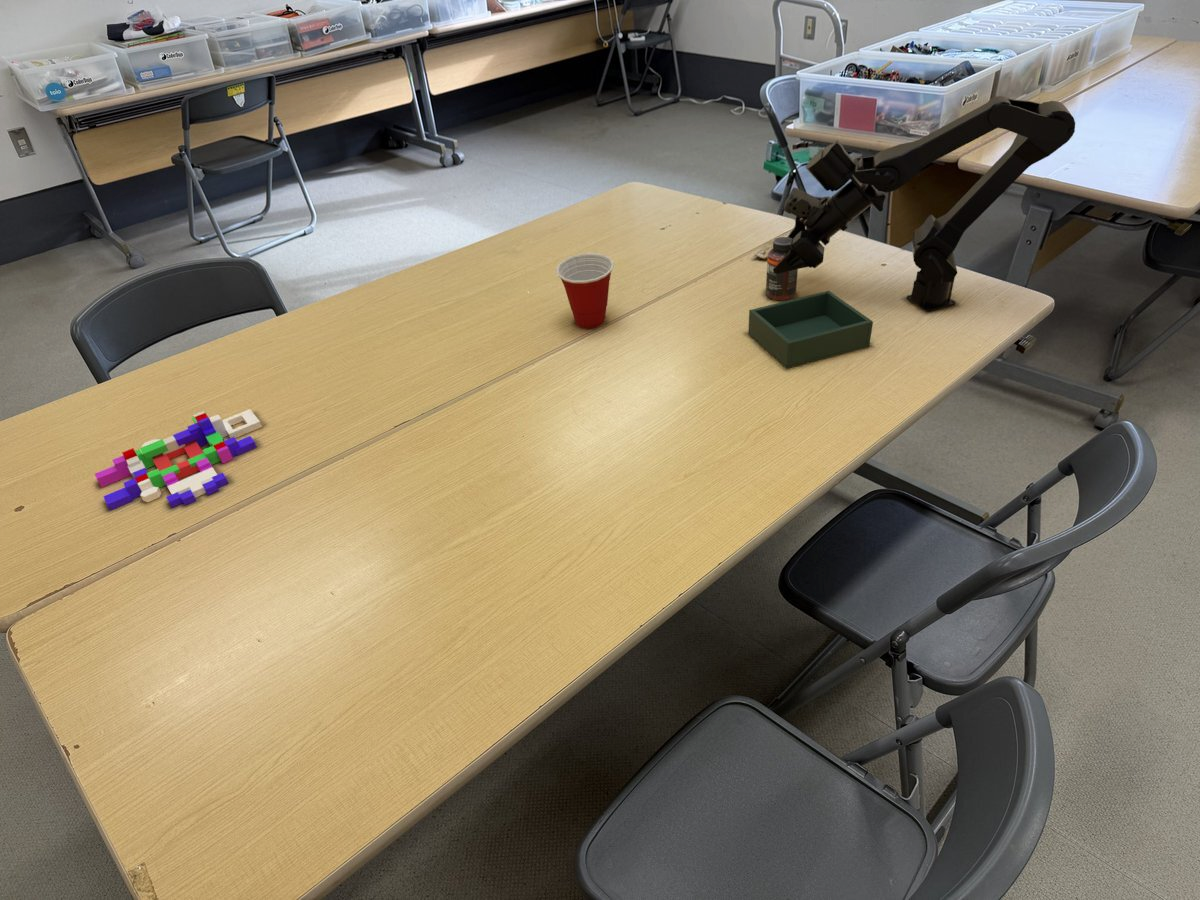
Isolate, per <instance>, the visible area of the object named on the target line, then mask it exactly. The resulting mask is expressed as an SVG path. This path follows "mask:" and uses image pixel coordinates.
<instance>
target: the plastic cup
mask: <svg viewBox="0 0 1200 900" xmlns="http://www.w3.org/2000/svg"><path fill="white" fill-rule="evenodd" d="M614 265H615V264H614V262H613V259H612V258H610V257H609V256H607V255H605V254H602V253H597V252H584V253H579V254H574V255H572V256H569V257H566V258H564V259H563V260H562V261H560V263H558V264H557V267H556V269H555V271H556V274H557V277H558V278H560V280H561V282H562V284H563V287H564V289H565V293H566V294H565V295H566V296H567V300H568V303H569V307H570V309H571V312H572V317H573V318H574V322H575V323H576V326H578V327H579V328H582V329H588V330H590V329H597V328H599V327H601V326H603V324H605V322H606V317H607V307H608V302H609V301H608V300H609V289H610V281H611V276H612V272H613V269H614Z"/></svg>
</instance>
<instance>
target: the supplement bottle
mask: <svg viewBox="0 0 1200 900" xmlns="http://www.w3.org/2000/svg"><path fill="white" fill-rule="evenodd" d="M791 240H792V238H789V237H787V236H780V237H776V238H775V239H773V240H772V241H773V249H771V250H770V251H769V253H768V257H767V258H766V259H767V260H766V277H765V278H766V279H765V295H766V296H767V297H768V298H769V299H772V300H775V301H788V300H791V299H792V298H794V297H795V296H796V295H797V287H798V271H799V269H795V270H791V271H787V272H783V273H779V274H776V273H775V272H774V271H773V269H774V268H775V266H776V265H777V264H778V263H779V262H780V261H781V260H782V259H783V257H784V256H785V255H786V254H787V253H788V252H789V251H790V248H791Z"/></svg>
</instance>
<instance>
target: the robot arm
mask: <svg viewBox="0 0 1200 900" xmlns="http://www.w3.org/2000/svg"><path fill="white" fill-rule="evenodd" d="M996 129H1001V130H1006V131H1009V132H1011V133H1014V134H1016V135H1015V138H1014V140H1013V142H1012V143H1011V145H1010V147H1009V148H1008V149H1007V150H1006V152H1004V153H1003V154H1002V155H1001V156H1000V157H999V159H997V161H995V162H994V164H993V165H992V166H991V167H990V168H988V170H987V171H986V172H985V173H984V174H983V175H982V176H981V177H980V178H979V179H978V181H976V182H975V183H974V185H972V186H971V188H970V189H969V190H968V191H966V193H965V194H964V195H963V196H962V197H961V198H960V199H959V200H958V201H957V202H956V204H955V205H954V206H952V207H951V208H950V210H949V211H948V212H947V213H945V214H943V215H941V216H940V217H937V218H936V217H934V215H933V214H929V215H928V216H927V218H926V219H925V221H924V222H923V223H922V224H921V225H920V226H919V227H918V228H916V229H914V236H913V238H912V240H911V250H912V259H913V262H914V264H915V266H916V267H917V268H918V269H920V270H918V271H917V272H916V276H915V280H914V281H913V284H912V292H911V294H908V295H907V296H906V300H908V301H909V302H911V303H912V304H914V305H916V306H917V307H918V308H920V309H922V310H923V311H925V312H928V313H929V312H933V311H938V310H941V309H945V308H949V307H953V306H956V304H957V302H956V300H954V299H952V298H951V297H952V293H953V288H954V284H955V280H956V277H957V275H958V268H957V263H956V259H955V254H954V251H955V250H956V248H957V246H958V245H959V242H960V241H961V239H962V237H963V235H964V233H965V232H966V230H968V229H969V227H971V225H973V224H974V223H975V222H976V221H977V220H978V219H979V218H980V217H981V216H982V215H983V213H985V212H986V210H987V209H989V207H991V206H992V204H994V202H995V201H996V200H998V198H999V197H1001V196H1002V195H1003V194H1004V192H1005V191H1006V190H1008V188H1009V187H1010V186H1012V184H1014V182H1015V181H1016V180H1017V179H1018V178H1019V177H1020V176H1021V175H1022V174H1023V173H1024V172H1025V171H1026V170H1028V168H1030V167H1031V166H1032V165H1034V164H1037V163H1038V162H1040V161H1042V160H1044V159H1045V158H1048V157H1050V156H1051V155H1052V154H1054V153H1055V152H1056V151H1057V150H1059V149H1060V148H1062V146H1064V145H1065V144H1067V143H1068V142H1069V141H1070V140H1071V138H1073V135H1074V134H1075V131H1076V121H1075V118H1074V116H1073V115H1072V114H1071V112H1070V110H1069V109H1068V107H1066V105H1065V104H1064V103H1062V102H1060V101H1058V100H1050V101H1043V102H1036V101H1031V100H1024V99H1013V98H1008V97H1006V96H1003V95H999V96H998V95H997V96H995V97H992V98H991V99H989V100H988V101H987V102H986V103H983V104H982V105H980V106H978V107H976V108H975V109H973V110H971V111H968V112H967V113H965V114H964V115H962V116H960V117H958V118H956V119H954V120H952V121H950V122H949V123H947V124H945V125H943V126H941V127H940V128H938V129H935V130H934V131H932V132H930V133H928V134H927V135H924V136H923V137H921V138H919V139H916V140H913V141H910V142H904V143H899V144H897V145H894V146H891V147H888V148H886V149H883V150H880V151H879V152H877V153H876V154H874V155H869V156H860V157H855V158H854V159H853V157H852V156H851V155H850V154H849V153H848V152H847V151H846V149H845V148H844V146H843V144H842V143H841V142H840V141H839V140H835V141H833V142H832V143H831V144H829V145H827V146H825V147H824V148H821V149H820V150H819V151H817V152H816V154H815V155H813V156H812V157H811V159H810V160H809V161H808V162H807V164H806V166H805V169H806V170H807V172H808V173H809V174H811V176H812V177H813V178H814V179H815V180H816V181H817V182H818V183H819V185H820V186H822V188H823V189H824V190H825V191H827V192H828V191H831V192H832V193H833V192H836V193H834V194H832V196H829V195H827V196H824V197H822V198H821V199H818V198H816V197H815V196H814V195H811V194H810V193H808V192H805V191H803V190H801V189H800V188H797V187H792V189H791V190H790V193H789V194H788V196H787V197H786V200H785V201H784V204H783V211H784V212H786V213H787V214H790V215H794V216H795V223H794V227H793V228H792V230H790V232H789V234H788V235H787V236H786V237H789V238H792V240H791V248H790V251H789V252H788V253H787V254H786V255H785V256H784V257H783V259H782V260H781V261H780V262H779V263H778V264H777V265H776V266H775V268H774V269H773V271H774V272H775V273H776V274H779V273H783V272H787V271H791V270H795V269H798V270H800V269H806V268H810V269H811V268H812V269H816V268H817V267H819V266H820V265H821V264H822V263H823V262H824V258H825V257H824V255H825V246H827V245H828V244H829V243H830V241H831V238H832V237H833V236H834V235H835V234H838V232H839V231H841V230H842V232H844V231H846V230H847V229H848V228H849V227H848V226H849V223H851V222H852V221H854V219H856V218H857V217H858V216H859V215H861V214H862V213H863V212H865V211H866V210H867V209H868V208H869V207H871V206H872V205H873V206H874V208H876V210H877V211H878V212H880V213H881V212H883V211H884V203H885V201H886V198H887V194H889V193H892V192H895V191H897V190H898V189H900V188H901V187H903V186H904V185H905V184H907V183H908V182H909V181H911V180H912V179H913V178H915V177H916V176H917V174H919V173H920V172H921V171H922V169H924V168H925V167H927V166H928V165H929V164H931V163H933V162H935V161H937V160H939V159H941V158H943V157H944V156H947V155H948V154H950V153H952V152H955V151H957V150H958V149H960V148H962V147H964V146H965V145H967V144H970V143H972V142H974V141H975V140H977V139H979V138H981V137H983V136H985V135H986V134H989V133H991V132H992V131H994V130H996ZM823 245H824V246H823Z"/></svg>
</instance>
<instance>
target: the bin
mask: <svg viewBox="0 0 1200 900" xmlns="http://www.w3.org/2000/svg"><path fill="white" fill-rule="evenodd" d="M873 325H874V320H872V319H870V318H869V317H867V315H865V314H863V313H862V312H860V311H859V310H857V308H855V307H854V306H852V305H850V304H849V303H848V302H846V301H845V300H843V299H842V298H840V297H839V296H838V295H836V294H835V293H833V292H832V291H830V290H826V291H822V292H817V293H814V294H810V295H805V296H801V297H797V298H793V299H788V300H784V301H781V302H780V301H779V302H776V303H773V304H769V305H765V306H761V307H760V306H759V307H756V308H752V309H749V310H748V329H747V330H748V332H747V335H748V336H749V337H750V338H752V340H754V341H755V343H757V344H758V345H759V346H760V347H761V348H763V349H764V350H765V351H766V352H767V353H768V354H769V355H770V356H772V357H773V358H774V360H776V361H777V362H778V363H779V364H780V365H781V366H783V367H784V368H785V369H790V368H791V369H792V368H794V367H798V366H802V365H806V364H811V363H814V362H818V361H821V360H825V359H829V358H832V357H836V356H840V355H844V354H847V353H851V352H856V351H859V350H862V349H865V348H870V346H871V345H870V344H871V339H872V333H873V332H872V331H873Z"/></svg>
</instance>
